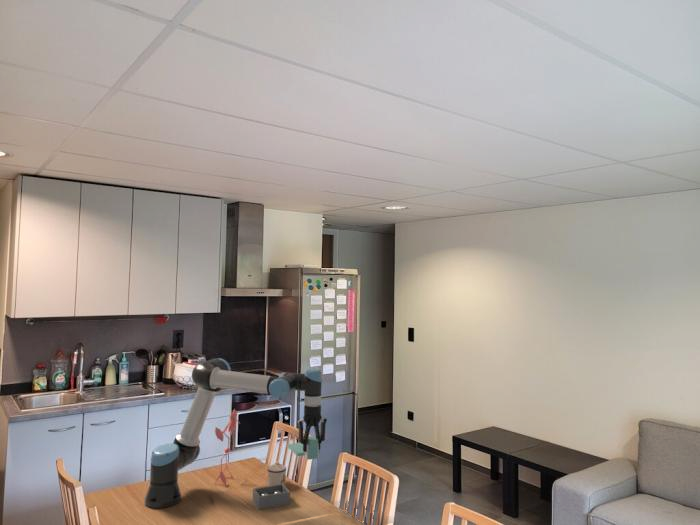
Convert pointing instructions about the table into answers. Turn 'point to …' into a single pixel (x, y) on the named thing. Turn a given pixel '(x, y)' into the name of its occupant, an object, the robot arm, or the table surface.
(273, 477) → the teacup with lid
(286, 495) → the tub
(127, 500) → the table surface
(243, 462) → the table surface
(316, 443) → the lid
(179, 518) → the table surface
